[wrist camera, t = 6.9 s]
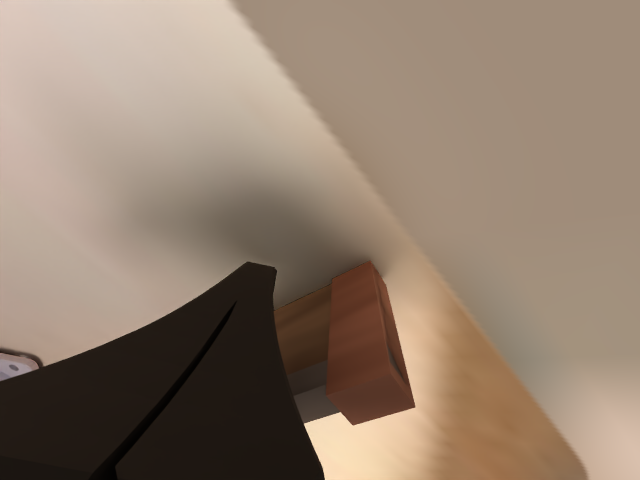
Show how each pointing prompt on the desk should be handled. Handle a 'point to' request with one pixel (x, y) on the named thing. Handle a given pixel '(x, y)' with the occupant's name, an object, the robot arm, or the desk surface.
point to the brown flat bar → (344, 350)
